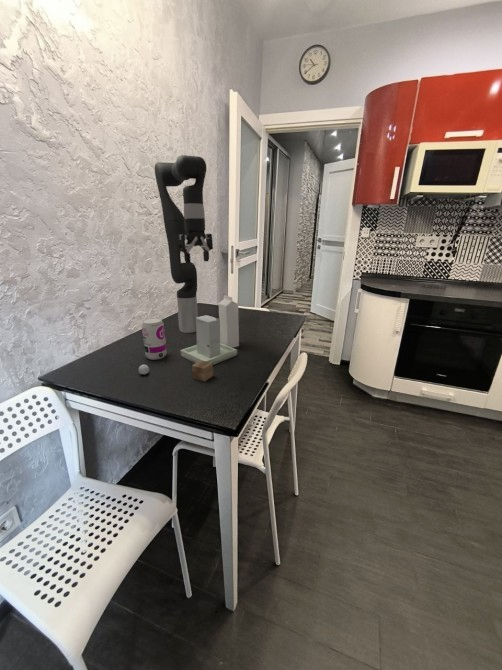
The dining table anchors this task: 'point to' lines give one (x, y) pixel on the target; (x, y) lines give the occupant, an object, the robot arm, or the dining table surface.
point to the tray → (194, 356)
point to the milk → (229, 322)
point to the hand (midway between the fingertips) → (197, 262)
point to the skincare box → (208, 335)
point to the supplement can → (154, 338)
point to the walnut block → (202, 370)
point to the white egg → (143, 369)
